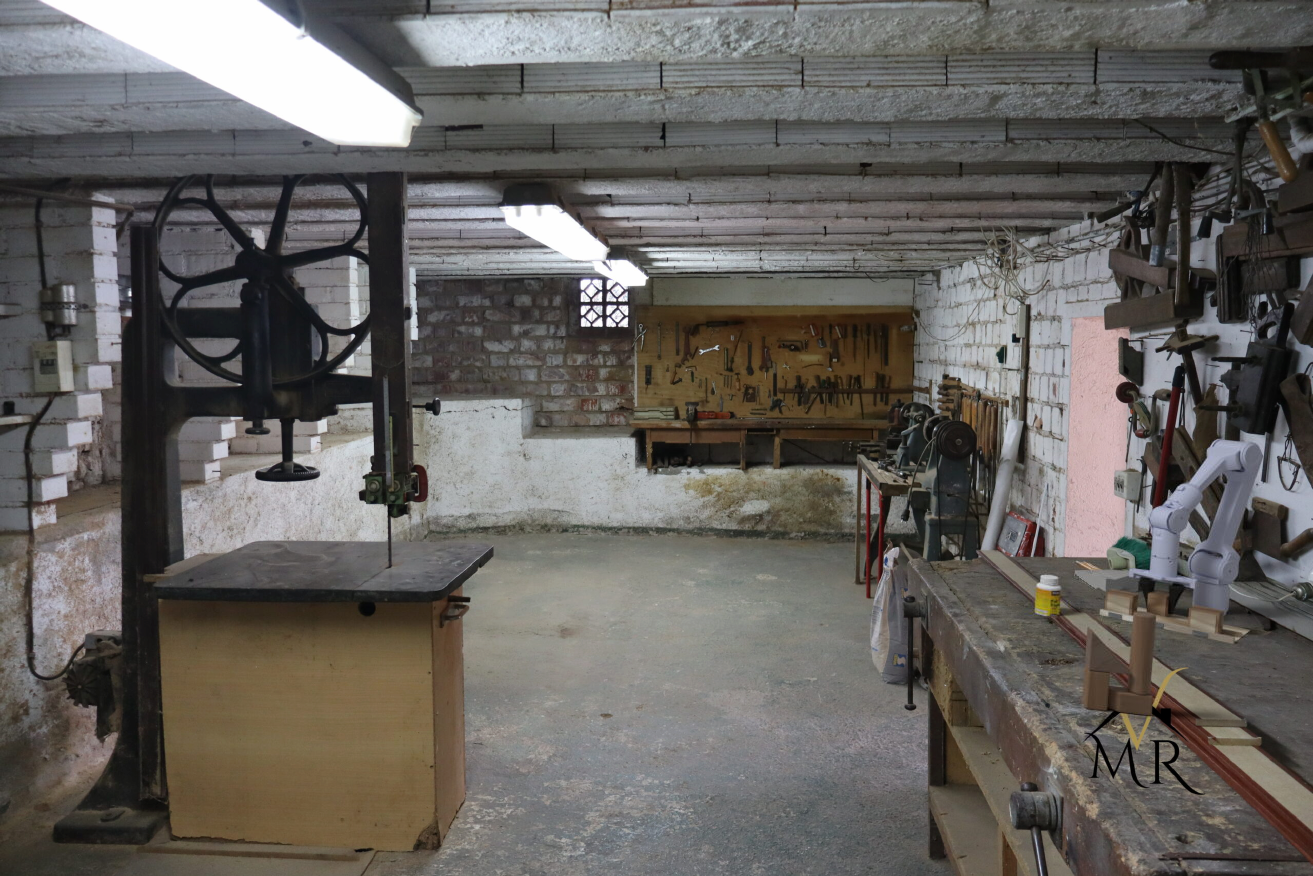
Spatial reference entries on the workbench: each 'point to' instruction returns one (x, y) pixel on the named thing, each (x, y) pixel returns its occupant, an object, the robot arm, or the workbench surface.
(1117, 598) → the faced block
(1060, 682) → the workbench surface
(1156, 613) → the turned block
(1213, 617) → the faced block
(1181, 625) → the long shallow wooden tray
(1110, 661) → the wooden block
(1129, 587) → the ramp
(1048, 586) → the supplement bottle
